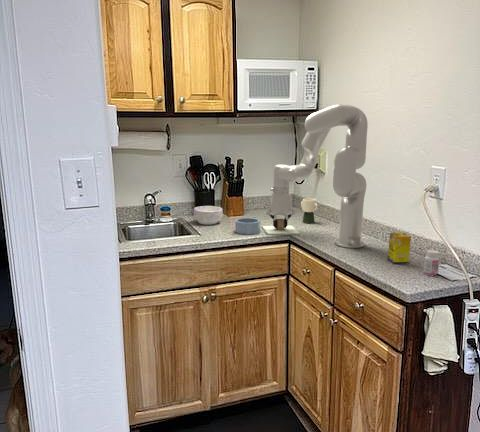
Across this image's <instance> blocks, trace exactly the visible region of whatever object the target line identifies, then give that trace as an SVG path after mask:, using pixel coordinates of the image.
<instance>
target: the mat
mask: <svg viewBox="0 0 480 432" xmlns="http://www.w3.org/2000/svg"><path fill="white" fill-rule="evenodd" d="M260 229H261V230H262V231H263V232H264V234H265V235H266V236H268V235H267V233H266V232H265V231H264V229H263V228H262V227H261V226H260ZM298 235H299V236H300V235H301V234H300V233H299V234H288V235H287V236H298Z"/></svg>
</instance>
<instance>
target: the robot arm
mask: <svg viewBox="0 0 480 432" xmlns="http://www.w3.org/2000/svg"><path fill="white" fill-rule="evenodd" d="M304 121H305V122H304V129H305V131H306V133H305V135H304V138H303V139H302V140H301V147H302V148H303V151H304V153H303V157H302V159H301V161H300V163H299V164H294V165H288V164H275V165H274V166H273V187H271V188H270V192H272V193H271V197H270V204H269V208H268V210H267V211H266V213H265V214H266V215H267V216H269V217H270V218H271V219H272V224H273V225H272V226H274V228H275V229H276V228H277V220H276V219H277V217H278V215H284V218H283V219H285V222H284V228H286V226H288V221H289V219H291V217H293V216H294V215H295V214H296V213H295V211H294V209H293V205H292V203H293V201H292V194H291V193H290V183H294V182H301V181H305V180H307V179H308V178H309V177H310V176H311V174H312V172H313V170H315V167H316V165H317V163H318V157H319V151H320V149H321V147H322V145H323V143H324V141H325V140H326V138H327V136H328V135H329V133H330V131H331V129H332V128H336V127H340V126H341V127H345V126H346V127H347V132H346V135H345V144H344V145H345V146H344V148H341V149H340V150H338V151H337V152H336V155H335V157H334V159H333V176H332V177H333V178H332V187H333V190H334V193H335V194H336V195H337V196H338V197H340V198H341V201H340V211H339V225H338V226H339V228H338V230H339V231H338V238H337V239H336V240H334V244H335V245H337V246H338V247H342V248H347V249H351V248H352V249H356V248H357V249H358V248H363V247H364V246H365V242H364V241H363V240H362V229H363V228H362V227H363V218H364V217H363V213H364V202H365V196H366V191H367V180H366V178H365V176H364V175H363V174H362V173H359V172H357V170H358V169H361V168H362V167H364V166H365V163H366V158H367V156H366V154H367V140H368V139H367V137H368V129H369V127H368V124H369V123H368V118H367V116H366V114H365V113H364V111H363V110H362V109H360V108H359V107H356V106H354V105H349V104H334V105H331V106H328V107H326V108H324V109H320V110H319V111H316V112H313V113H311V114H310V115H308V116H307V117H306V119H305V120H304Z"/></svg>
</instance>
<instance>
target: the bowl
mask: <svg viewBox="0 0 480 432" xmlns="http://www.w3.org/2000/svg"><path fill="white" fill-rule="evenodd" d="M261 224H262V223H261V219H259V218H256V217H255V218H253V217H240V218H236V219H234V232H235V234H239V235H245V236H246V235H250V236H251V235H258V234H259V233H261Z"/></svg>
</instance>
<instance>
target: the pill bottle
mask: <svg viewBox="0 0 480 432" xmlns="http://www.w3.org/2000/svg"><path fill="white" fill-rule="evenodd" d="M439 256H440V251H438V250H435V249H427V250H426V255H425V257H424V264H423V274H424V273H425V274H427V275H426V276H428V275H436V274H438V275H439V268H440V265H439V264H440V257H439ZM425 274H424V275H425Z"/></svg>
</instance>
